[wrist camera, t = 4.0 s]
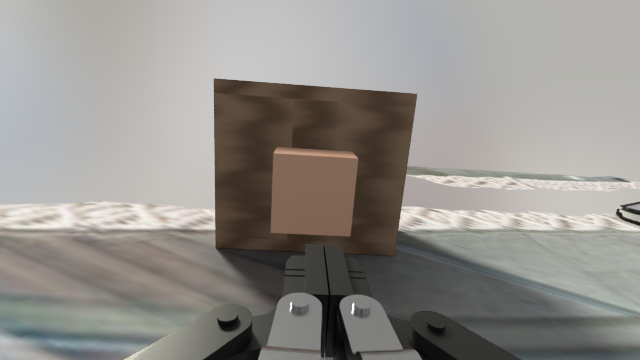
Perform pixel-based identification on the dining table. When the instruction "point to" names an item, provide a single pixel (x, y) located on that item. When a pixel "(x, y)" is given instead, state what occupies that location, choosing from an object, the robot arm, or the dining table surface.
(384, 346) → the robot arm
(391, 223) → the box
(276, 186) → the pinkish brown block
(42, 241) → the dining table surface
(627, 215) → the gaming console
